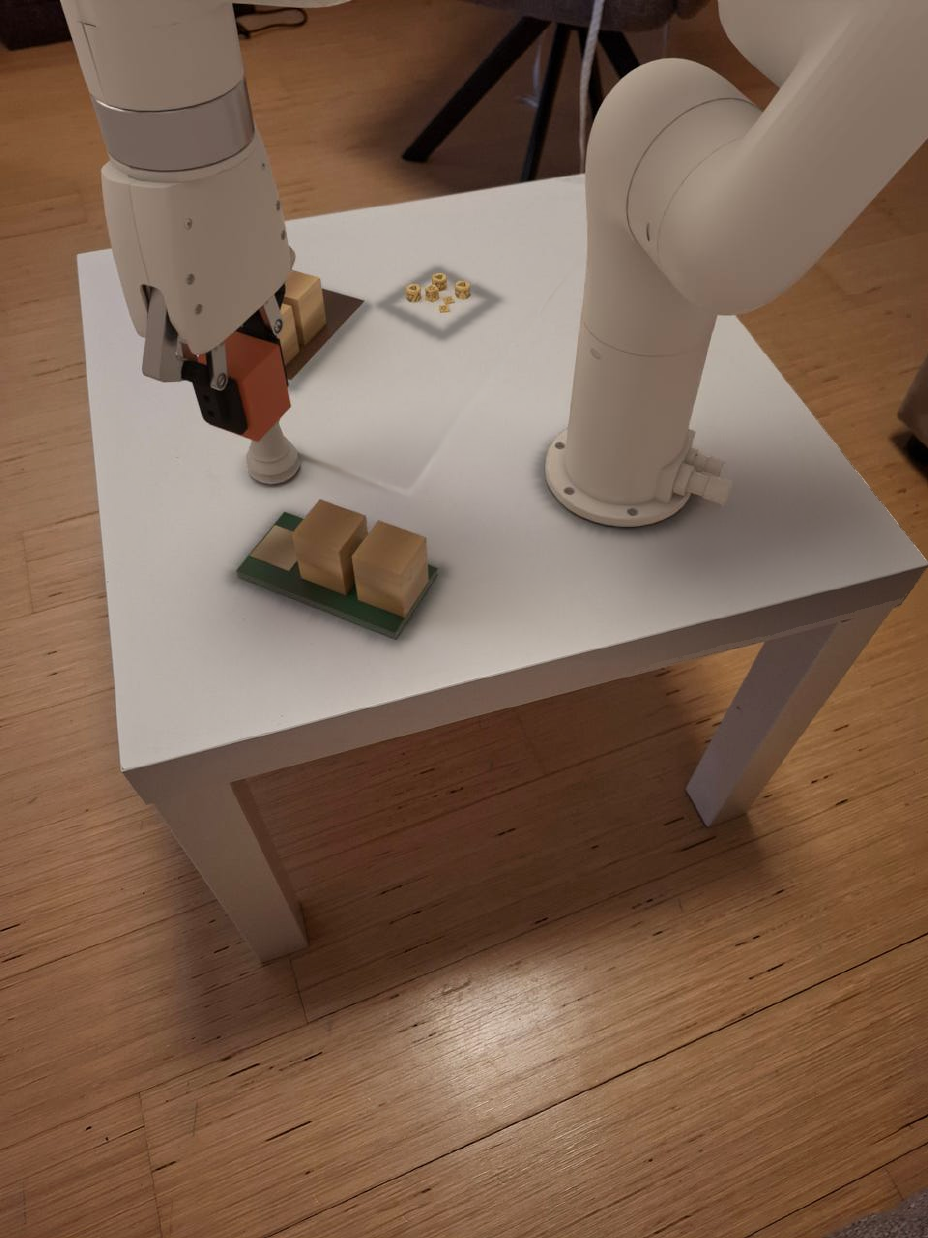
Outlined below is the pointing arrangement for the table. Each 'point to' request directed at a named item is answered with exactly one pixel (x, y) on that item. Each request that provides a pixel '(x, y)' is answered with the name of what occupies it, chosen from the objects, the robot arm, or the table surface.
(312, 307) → the far board with cubes
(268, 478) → the rook chess piece
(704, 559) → the table surface
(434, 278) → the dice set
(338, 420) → the table surface
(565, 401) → the table surface
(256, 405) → the orange upright block
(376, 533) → the green board with cubes
